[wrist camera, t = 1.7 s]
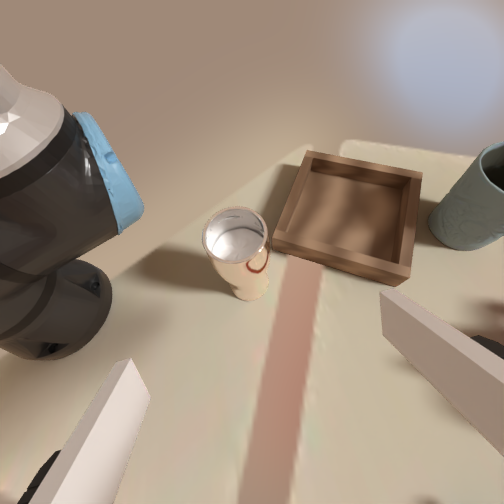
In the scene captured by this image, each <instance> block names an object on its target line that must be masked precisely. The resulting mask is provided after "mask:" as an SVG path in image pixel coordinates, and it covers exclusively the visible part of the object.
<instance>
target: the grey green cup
mask: <svg viewBox="0 0 504 504" xmlns="http://www.w3.org/2000/svg"><path fill="white" fill-rule="evenodd" d="M428 223H429V228H430V231H431V232H432V234H433V235H434V236H435V237H436V238H437V239H438V240H439V241H440V242H442V243H443V244H445V245H446V246H448V247H450V248H453V249H457V250H462V251H471V250H476V249H479V248H482V247H484V246H486V245H488V244H490V243H492V242H494V241H496V240H498V239H499V238H500V237H502V236H504V142H499V143H496V144H492V145H490V146H489V147H487V148H485V149H484V150H483V151H482V152H481V153H480V154H479V156H478V157H477V158H476V159H475V160H474V162H473V163H472V164H471V165H470V167H469V168H468V169H467V171H466V172H465V173H464V174H463V175H462V177H461V178H460V179H459V180H458V181H457V182H456V183H455V185H454V186H453V187H452V188H451V190H450V192H449V193H448V194H446V196H445V197H444V198H443V199H442V201H441V202H440V203H439V204H438V206H437V207H436V208H435V209H434V210H433V211H432V213H431V214H430V216H429V221H428Z"/></svg>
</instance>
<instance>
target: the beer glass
mask: <svg viewBox="0 0 504 504" xmlns="http://www.w3.org/2000/svg"><path fill="white" fill-rule="evenodd" d="M202 243H203V246H204V249H205V250H206V253H207V255H208V257H209V260H210V262H211V264H212V266H213V267H214V269H215V270H216V272H217V273H218V274H219V275H220V276H221V277H222V278H223V279H224V280H225V281H226V282H228V283H229V284H230V287H231V290H232V292H233V293H234V295H235V296H236V297H238V298H240V299H242V300H245V301H252V300H256V299H258V298H260V297H261V296H263V295H264V293H265V292H266V290H267V288H268V285H269V278H268V275H267V273H266V272H267V269H268V266H269V262H270V242H269V237H268V232H267V226H266V223H265V221H264V219H263V218H262V217H261V216H260V215H259V214H258V213H257V212H255V211H254V210H252V209H249V208H246V207H240V206H235V207H228V208H225V209H222V210H220V211H218V212H217V213H215V214H214V215H213V216H212V217H211V218H210V219H209V220H208V221H207V223H206V224H205V226H204V229H203V232H202Z"/></svg>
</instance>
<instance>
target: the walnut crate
mask: <svg viewBox="0 0 504 504" xmlns="http://www.w3.org/2000/svg"><path fill="white" fill-rule="evenodd" d="M422 174H423V173H422V172H417V171H412V170H407V169H402V168H397V167H391V166H386V165H381V164H376V163H371V162H366V161H360V160H355V159H350V158H345V157H340V156H334V155H329V154H324V153H319V152H314V151H309V150H307V151H306V154H305V156H304V159H303V161H302V164H301V166H300V169H299V171H298V174H297V176H296V179H295V181H294V184H293V186H292V189H291V191H290V194H289V196H288V199H287V201H286V204H285V206H284V209H283V211H282V214H281V216H280V219H279V221H278V224H277V226H276V229H275V231H274V234H273V236H272V249H273V250H276V251H280V252H283V253H286V254H289V255H293V256H296V257H299V258H302V259H306V260H309V261H312V262H316V263H319V264H322V265H325V266H329V267H332V268H335V269H338V270H342V271H345V272H348V273H351V274H355V275H358V276H361V277H364V278H368V279H371V280H374V281H378V282H381V283H384V284H387V285H391V286H394V287H396V286H398V285H400V284H401V283H403V282H404V281H406V280H407V279H409V278H410V272H411V264H412V256H413V248H414V239H415V231H416V223H417V215H418V207H419V198H420V190H421V182H422Z"/></svg>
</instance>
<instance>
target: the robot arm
mask: <svg viewBox="0 0 504 504" xmlns="http://www.w3.org/2000/svg"><path fill="white" fill-rule="evenodd" d="M143 212H144V205H143V202H142V200H141V198H140V196H139V194H138V192H137V190H136V189H135V187H134V185H133V183H132V181H131V180H130V178H129V176H128V175H127V173H126V171H125V169H124V168H123V166H122V164H121V163H120V161H119V160H118V159H117V157H116V155H115V153H114V151H113V150H112V148H111V146H110V144H109V142H108V141H107V139H106V138H105V136H104V134H103V133H102V131H101V129H100V128H99V126H98V125H97V123H96V122H95V120H94V119H93V117H92V116H91V115H90V114H89V113H87V112H82V113H78V112H74V113H73V115H72V116H71V115H70V114H69V112H68V111H67V110H66V109H65V108H64V106H63V105H62V104H61V103H60V101H59V100H58V99H57V98H56V97H54V96H53V95H52V94H50V93H47V92H44V91H41V90H38V89H35V88H31V87H28V86H25V85H22V84H20V83H19V82H17V81H16V80H15V79H14V78H13V77H12V76H11V75H10V74H9V72H8V71H7V70H6V69H5V68H4V67H3V66H2V65H1V64H0V348H2V349H4V350H6V351H8V352H10V353H12V354H14V355H17V356H19V357H21V358H24V359H29V360H56V359H60V358H63V357H66V356H68V355H70V354H72V353H74V352H76V351H78V350H79V349H80V348H82V347H83V346H84V345H86V344H87V343H88V342H89V341H90V340H91V339H92V338H93V337H94V336H95V335H96V333H97V332H98V331H99V330H100V328H101V327H102V325H103V323H104V322H105V320H106V318H107V315H108V313H109V310H110V307H111V302H112V287H111V283H110V281H109V279H108V277H107V275H106V274H105V273H104V272H103V271H102V270H101V269H99V268H97V267H95V266H94V265H92V264H90V263H88V262H85V261H82V260H77V259H76V258H78V257H80V256H81V255H83V254H85V253H87V252H88V251H90V250H92V249H93V248H95V247H97V246H99V245H100V244H102V243H104V242H106V241H107V240H109V239H111V238H113V237H114V236H116V235H120V234H121V233H122V231H123V230H124V229H126V228H127V227H129V226H130V225H132V224H133V223H134V222H136V221H137V220H139V219H140V218H141V216H142V214H143ZM379 293H380V306H381V320H382V333H383V336H384V337H385V338H386V339H387V340H388V341H389V342H390V343H391V344H392V345H393V346H394V347H395V348H396V349H397V350H398V351H399V352H400V353H401V354H402V355H403V356H404V357H405V358H406V359H407V360H408V361H409V362H410V363H411V364H412V365H413V366H414V367H415V368H416V369H417V370H418V371H419V372H420V373H421V374H422V375H423V376H424V377H425V378H426V379H427V380H428V381H429V382H430V383H431V384H432V385H433V386H434V387H435V388H436V389H437V390H438V391H439V392H440V393H441V394H442V395H443V396H444V397H445V398H446V399H447V400H448V401H449V402H450V403H451V404H452V405H453V406H454V407H455V408H456V409H457V410H458V411H459V412H460V413H461V414H462V415H463V416H464V417H465V418H466V419H467V420H468V421H469V422H470V423H471V424H472V425H473V426H474V427H475V428H476V429H477V430H478V431H479V433H480V434H481V435H482V436H483V437H484V438H485V439H486V440H487V441H488V442H489V443H490V444H491V445H492V446H493V447H494V448H495V449H496V450H497V451H498V452H499V453H500V454H501V455H502V456H503V457H504V346H503V345H501V344H499V343H498V342H495V341H492V340H490V339H487V338H484V337H482V336H479V335H478V336H474V337H470V338H469V337H468V336H466V335H465V334H463V333H462V332H460V331H459V330H457V329H456V328H454V327H453V326H451V325H449V324H448V323H446V322H445V321H443V320H442V319H440V318H439V317H437V316H436V315H434V314H433V313H431V312H430V311H428V310H427V309H425V308H423V307H422V306H420V305H419V304H417V303H416V302H414V301H413V300H411V299H410V298H408V297H407V296H405V295H404V294H402V293H401V292H399V291H397V290H396V289H394V288H391V289H388V290H384V291H380V292H379ZM150 399H151V397H150V395H149V393H148V391H147V389H146V387H145V385H144V383H143V381H142V379H141V377H140V375H139V373H138V371H137V369H136V367H135V365H134V363H133V361H132V359H131V358H129V359H125V360H121V361H117V362H116V363H115V365H114V366H113V368H112V369H111V371H110V373H109V374H108V376H107V378H106V379H105V381H104V382H103V384H102V386H101V387H100V389H99V390H98V392H97V394H96V395H95V397H94V399H93V400H92V402H91V403H90V405H89V407H88V408H87V410H86V411H85V413H84V415H83V416H82V418H81V420H80V421H79V423H78V424H77V426H76V428H75V429H74V431H73V432H72V434H71V436H70V437H69V439H68V441H67V442H66V444H65V445H64V447H63V449H62V450H59V451H56V452H55V453H54V454H53V455H52V456H51V457H50V458H49V459H48V461H47V462H46V463H45V464H44V465H43V466H42V467H41V468H40V470H39V471H38V473H37V474H36V476H35V477H34V479H33V480H32V482H31V483H30V485H29V486H28V488H27V492H24V494H23V496H22V497H21V499H20V500H19V502H18V503H17V504H113V503H114V500H115V497H116V494H117V492H118V489H119V486H120V483H121V480H122V478H123V475H124V472H125V469H126V466H127V464H128V461H129V458H130V455H131V452H132V450H133V447H134V444H135V441H136V438H137V436H138V433H139V430H140V427H141V424H142V422H143V419H144V416H145V413H146V410H147V408H148V405H149V402H150Z"/></svg>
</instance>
